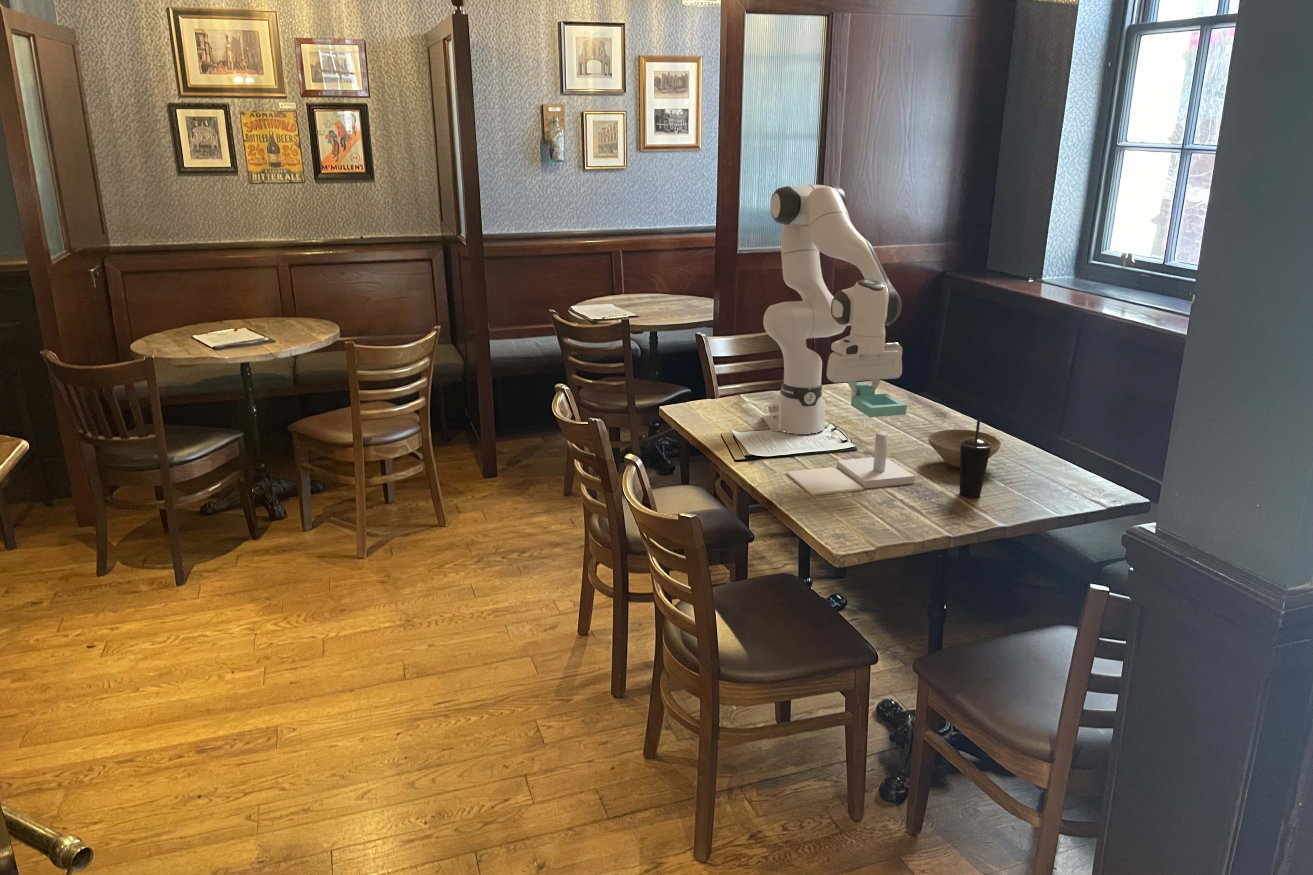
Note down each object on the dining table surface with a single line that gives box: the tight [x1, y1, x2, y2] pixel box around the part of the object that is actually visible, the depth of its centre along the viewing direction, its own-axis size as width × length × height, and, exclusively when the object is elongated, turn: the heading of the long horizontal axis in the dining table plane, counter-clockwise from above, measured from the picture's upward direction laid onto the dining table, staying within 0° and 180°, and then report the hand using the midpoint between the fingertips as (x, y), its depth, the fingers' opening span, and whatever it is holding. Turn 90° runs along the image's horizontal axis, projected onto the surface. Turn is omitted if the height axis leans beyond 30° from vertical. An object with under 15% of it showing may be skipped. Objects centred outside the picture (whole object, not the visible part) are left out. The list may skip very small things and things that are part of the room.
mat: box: [786, 466, 864, 496], centre depth 237 cm, size 16×14×1 cm
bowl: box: [927, 428, 1002, 469], centre depth 247 cm, size 18×18×8 cm
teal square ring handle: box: [850, 381, 908, 419], centre depth 235 cm, size 16×10×4 cm, turn 16°
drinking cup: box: [959, 417, 992, 500], centre depth 225 cm, size 8×8×20 cm
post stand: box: [836, 431, 916, 489], centre depth 240 cm, size 16×14×12 cm
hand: (862, 396), depth 240 cm, fingers closed on teal square ring handle, 3 cm apart
